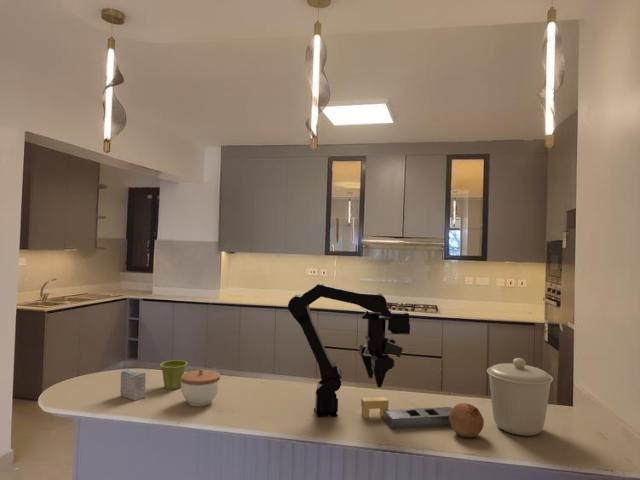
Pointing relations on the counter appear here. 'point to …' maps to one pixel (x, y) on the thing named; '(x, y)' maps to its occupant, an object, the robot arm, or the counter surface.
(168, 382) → the plant pot
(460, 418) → the onion
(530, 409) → the canister
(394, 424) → the rail
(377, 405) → the yellow rectangular block
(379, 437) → the counter surface
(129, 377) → the medicine box
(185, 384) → the lidded bowl
